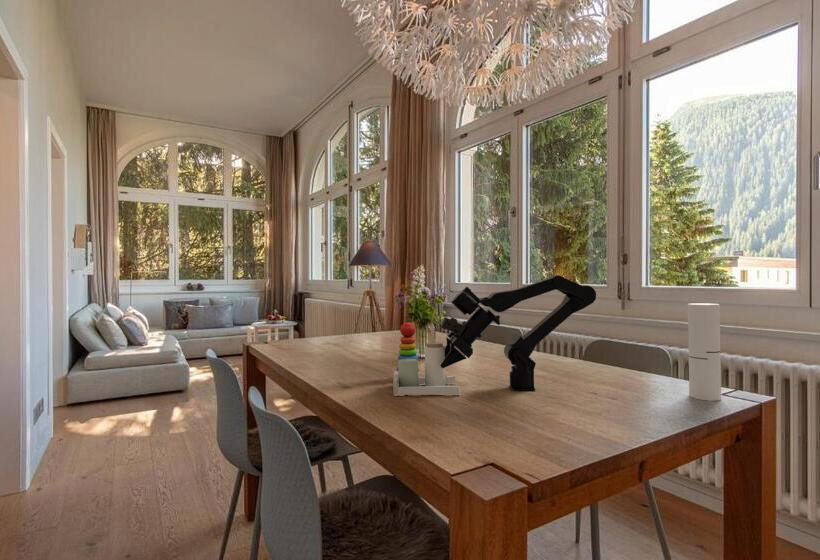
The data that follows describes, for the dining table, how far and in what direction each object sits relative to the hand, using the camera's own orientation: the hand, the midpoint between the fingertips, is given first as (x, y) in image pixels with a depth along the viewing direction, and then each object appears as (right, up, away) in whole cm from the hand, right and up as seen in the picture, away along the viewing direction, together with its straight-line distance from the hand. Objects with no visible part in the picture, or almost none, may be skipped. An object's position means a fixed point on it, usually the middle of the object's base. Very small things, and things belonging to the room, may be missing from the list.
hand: (440, 364), depth 133 cm
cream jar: (-1, -8, 0) cm, 8 cm away
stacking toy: (-10, -8, +15) cm, 20 cm away
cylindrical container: (+70, -7, -13) cm, 72 cm away
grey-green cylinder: (-9, -8, 0) cm, 12 cm away
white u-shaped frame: (-4, -8, 0) cm, 9 cm away
